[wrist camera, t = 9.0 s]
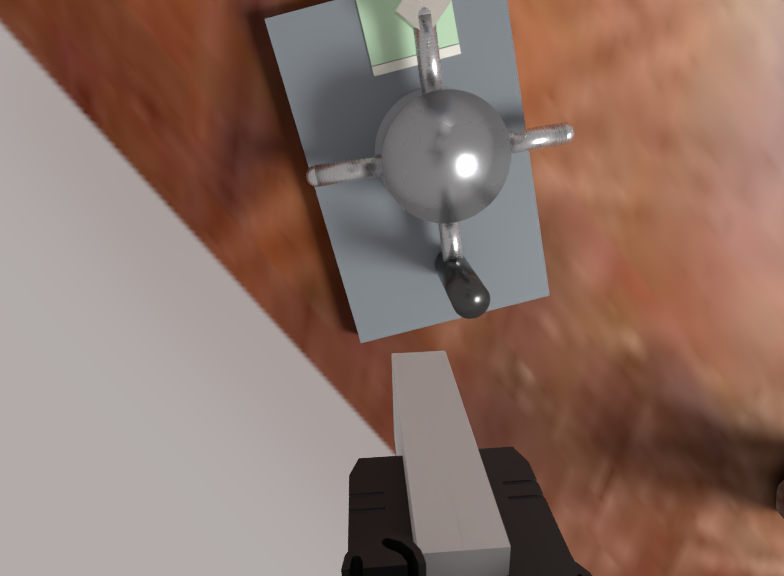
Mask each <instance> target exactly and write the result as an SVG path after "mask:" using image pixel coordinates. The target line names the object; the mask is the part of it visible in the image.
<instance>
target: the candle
mask: <svg viewBox="0 0 784 576" xmlns="http://www.w3.org/2000/svg"><path fill="white" fill-rule="evenodd" d="M776 508H777V511H778V512H779V513H780V515H781V516H782V517H783V518H784V480H783V481H782V482H781V483H780V484H779V485H778V490H777V496H776Z"/></svg>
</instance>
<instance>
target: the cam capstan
mask: <svg viewBox="0 0 784 576" xmlns="http://www.w3.org/2000/svg"><path fill="white" fill-rule="evenodd" d="M450 2H451V0H402V1H401V3H400V4H399V6H398V8H397V9H396V11H395V13H394V14H395V15H397V16H398V17H399V18H400V19H401V20H403V21H404V22H405V23H406V24H407V25H409V26H410V27H411V28H412V29H413V32H414V40H415V47H416V55H417V63H418V71H419V78H420V86H421V94H422V95H421V96H419V97H417V98H415V99H413V100H412V101H411V102H409V103H408V104H407V105H405V106H404V107H403V108H402V109H401V110H400V111H399V112H398V114H397V115H396V116H395V117H394V119H393V120H392V122H391V124H390V125H389V127H388V130H387V132H386V134H385V138H384V141H383V145H382V152H381V154H377V155H371V156H365V157H359V158H354V159H348V160H342V161H336V162H330V163H324V164H319V165H314V166H311V167H310V168H309V169H308V170H307V172H306V179H307V181H308V183H309V184H310V185H312V186H314V187H321V186H327V185H333V184H338V183H344V182H350V181H356V180H362V179H368V178H373V177H379V176H384V179H385V182H386V185H387V187H388V189H389V191H390V193H391V195H392V196H393V197H394V199H395V200H396V201H397V203H398V204H399V205H400V206H401V207H402V208H403V209H405V210H406V211H407V212H408V213H410V214H412V215H413V216H415V217H417V218H419V219H422V220H425V221H428V222H433V223H438V225H439V233H440V240H441V248H442V252H440V253H439V254H438V255H437V257H436V259H435V263H434V266H435V270H436V272H437V274H438V276H439V278H440V281H441V283H442V285H443V287H444V289H445V291H446V293H447V296H448V298H449V300H450V302H451V304H452V306H453V308H454V310H455V312H456V313H457V314H458V315H459V316H461V317H463V318H468V319H471V318H476V317H479V316H481V315H482V314H483V313H485V311H486V310H487V309H488V307H489V305H490V294H489V292H488V290H487V289H486V287H485V286H484V284H483V283H482V281H481V280H480V279H479V277H478V276H477V274H476V273H475V271H474V270H473V268H472V267H471V266H470V264H469V263H468V261H467V260H466V258H465V257H464V255H463V253H462V245H461V236H460V227H459V221H463V220H466V219H468V218H471V217H473V216H474V215H476V214H478V213H480V212H481V211H482V210H484V209H485V208H486V207H487V206H488V205H490V204H491V203H492V201H493V200H494V199H495V198H496V197H497V195H498V194H499V192H500V191H501V189H502V188H503V186H504V184H505V182H506V179H507V176H508V173H509V169H510V164H511V154H513V153H519V152H525V151H531V150H537V149H542V148H548V147H554V146H560V145H565V144H568V143H569V142H571V141H572V139H573V138H574V134H575V131H574V128H573V127H572V125H570V124H568V123H558V124H552V125H546V126H540V127H535V128H529V129H523V130H517V131H511V132H508V131H507V128H506V126H505V123H504V122H503V120H502V118H501V117H500V115H499V114H498V113H497V111H496V110H495V109H494V108H493V107H492V106H491V105H490V104H489V103H488V102H486V101H485V100H483V99H482V98H480V97H478V96H476V95H474V94H472V93H469V92H466V91H462V90H456V89H444V88H443V79H442V70H441V62H440V53H439V44H438V36H437V27H436V23H437V22H438V20H439V19H440V17H441V16H442V14H443V13H444V11H445V10H446V8H447V7H448V5H449V4H450Z"/></svg>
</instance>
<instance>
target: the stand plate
mask: <svg viewBox="0 0 784 576" xmlns="http://www.w3.org/2000/svg"><path fill="white" fill-rule="evenodd" d="M401 1H402V0H333V1H330V2H326V3H322V4H318V5H315V6H311V7H307V8H303V9H300V10H296V11H292V12H288V13H285V14H281V15H277V16H273V17H270V18H266V19H265V23H266V26H267V29H268V33H269V36H270V40H271V43H272V46H273V50H274V53H275V56H276V60H277V63H278V66H279V70H280V73H281V76H282V80H283V83H284V86H285V90H286V93H287V96H288V100H289V103H290V107H291V110H292V113H293V117H294V120H295V123H296V127H297V130H298V133H299V137H300V140H301V143H302V147H303V150H304V153H305V157H306V160H307V164H308V167H309V168H310V167H311V166H314V165H319V164H324V163H330V162H336V161H342V160H348V159H354V158H359V157H365V156H371V155H377V154H381V152H382V145H383V141H384V138H385V134H386V132H387V130H388V127H389V125H390V124H391V122H392V120H393V119H394V117H395V116H396V115H397V114H398V112H399V111H400V110H401V109H402V108H403V107H404V106H405V105H407V104H408V103H409V102H411V101H412V100H413V99H415V98H417V97H419V96H421V95H422V94H421V86H420V78H419V71H418V63H417V55H416V47H415V40H414V32H413V29H412V28H411V27H410V26H409V25H407V24H406V23H405V22H404V21H403V20H401V19H400V18H399V17H398V16H397V15H395V14H394V13H395V11H396V9H397V8H398V6H399V4H400V3H401ZM436 27H437V36H438V44H439V53H440V62H441V70H442V79H443V88H444V89H456V90H462V91H466V92H469V93H472V94H474V95H476V96H478V97H480V98H482V99H483V100H485V101H486V102H488V103H489V104H490V105H491V106H492V107H493V108H494V109H495V110H496V111H497V113H498V114H499V115H500V117H501V118H502V120H503V122H504V123H505V126H506V128H507V131H508V132H511V131H517V130H523V129H526V128H525V121H524V114H523V107H522V100H521V93H520V86H519V79H518V72H517V66H516V59H515V52H514V45H513V38H512V31H511V24H510V17H509V10H508V3H507V0H451V2H450V4H449V5H448V7H447V8H446V10H445V11H444V13H443V14H442V16H441V17H440V19H439V20H438V22H437V23H436ZM315 190H316V194H317V197H318V200H319V204H320V207H321V210H322V214H323V217H324V221H325V224H326V227H327V231H328V234H329V237H330V241H331V244H332V247H333V251H334V254H335V257H336V261H337V264H338V267H339V271H340V274H341V277H342V281H343V284H344V288H345V291H346V294H347V298H348V301H349V304H350V308H351V311H352V314H353V318H354V321H355V324H356V328H357V331H358V334H359V338H360V341H361V343H363V342H367V341H371V340H375V339H379V338H383V337H387V336H391V335H395V334H399V333H403V332H407V331H411V330H415V329H419V328H423V327H427V326H430V325H434V324H438V323H442V322H446V321H450V320H454V319H458V318H462V317H461V316H459V315H458V314H457V313H456V312H455V310H454V308H453V306H452V304H451V302H450V300H449V298H448V296H447V293H446V291H445V289H444V287H443V285H442V283H441V281H440V278H439V276H438V274H437V272H436V270H435V266H434V263H435V259H436V257H437V255H438V254H439V253H440V252H442V248H441V240H440V233H439V225H438V223H433V222H428V221H425V220H422V219H419V218H417V217H415V216H413V215H412V214H410V213H408V212H407V211H406V210H405V209H403V208H402V207H401V206H400V205H399V204H398V203H397V201H396V200H395V199H394V197H393V196H392V195H391V193H390V191H389V189H388V187H387V185H386V182H385V179H384V176H379V177H373V178H368V179H362V180H356V181H350V182H344V183H338V184H333V185H327V186H321V187H315ZM459 227H460V236H461V245H462V253H463V255H464V257H465V258H466V260H467V261H468V263H469V264H470V266H471V267H472V268H473V270H474V271H475V273H476V274H477V276H478V277H479V279H480V280H481V281H482V283H483V284H484V286H485V287H486V289H487V290H488V292H489V294H490V305H489V307H488V309H487V310H486V311H490V310H494V309H498V308H502V307H506V306H510V305H514V304H518V303H522V302H526V301H530V300H534V299H538V298H542V297H545V296H549V288H548V281H547V274H546V267H545V260H544V253H543V246H542V239H541V232H540V225H539V218H538V211H537V204H536V197H535V191H534V184H533V177H532V170H531V163H530V156H529V151H525V152H519V153H513V154H511V164H510V169H509V173H508V176H507V179H506V182H505V184H504V186H503V188H502V189H501V191H500V192H499V194H498V195H497V197H496V198H495V199H494V200H493V201H492V203H491V204H490V205H488V206H487V207H486V208H485V209H484V210H482V211H481V212H480V213H478V214H476V215H474V216H473V217H471V218H468V219H466V220H463V221H459ZM486 311H485V312H486Z"/></svg>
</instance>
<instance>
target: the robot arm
mask: <svg viewBox="0 0 784 576" xmlns="http://www.w3.org/2000/svg"><path fill="white" fill-rule="evenodd" d="M392 380H393V410H394V436H395V445H396V455H397V456H389V457H374V458H359V459H358V461H357V463H356V464H355V466H354V468H353V470H352V472H351V473H350V475H349V527H348V552H347V554H346V555H345V557H344V562H343V565H342V569H341V572H342V576H592V575H591V574H590V572H588V571H587V570H586V569H584V568H583V567H582V566H581V565H579V564H578V563H577V562H575V561H574V559H573V557H572V556H571V554H570V552H569V550H568V547H567V545H566V543H565V541H564V539H563V536H562V534H561V532H560V530H559V528H558V525H557V523H556V521H555V519H554V517H553V515H552V512H551V510H550V508H549V506H548V504H547V501H546V499H545V498H544V497H543V493H542V490H541V488H540V486H539V484H538V483H537V481H536V477H535V475H534V473H533V471H532V469H531V466H530V464H529V462H528V461H527V460H526V459H525V458H524V457H523V456H522V455H521V454H520V453H519V452H517V451H516V450H515V449H514V448H513V447H501V448H486V449H478V447H477V444H476V441H475V438H474V435H473V432H472V429H471V426H470V423H469V420H468V417H467V414H466V412H465V409H464V406H463V403H462V400H461V397H460V394H459V391H458V388H457V385H456V382H455V379H454V376H453V373H452V370H451V367H450V364H449V361H448V358H447V355H446V352H445V351H430V352H412V353H395V354H392Z"/></svg>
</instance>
